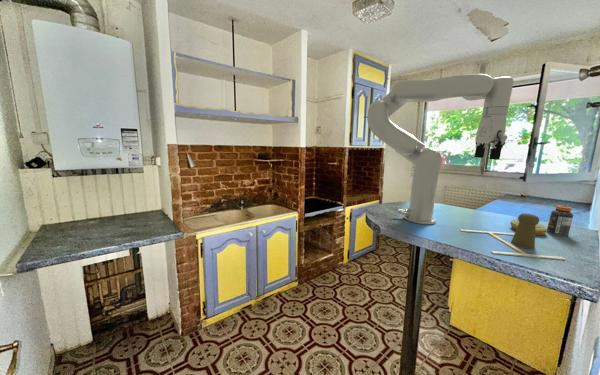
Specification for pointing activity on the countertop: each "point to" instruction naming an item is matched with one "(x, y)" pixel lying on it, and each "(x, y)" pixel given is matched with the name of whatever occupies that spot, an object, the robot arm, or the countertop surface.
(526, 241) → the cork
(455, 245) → the countertop surface
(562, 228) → the pill bottle
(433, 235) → the countertop surface
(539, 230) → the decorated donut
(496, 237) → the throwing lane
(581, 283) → the countertop surface
